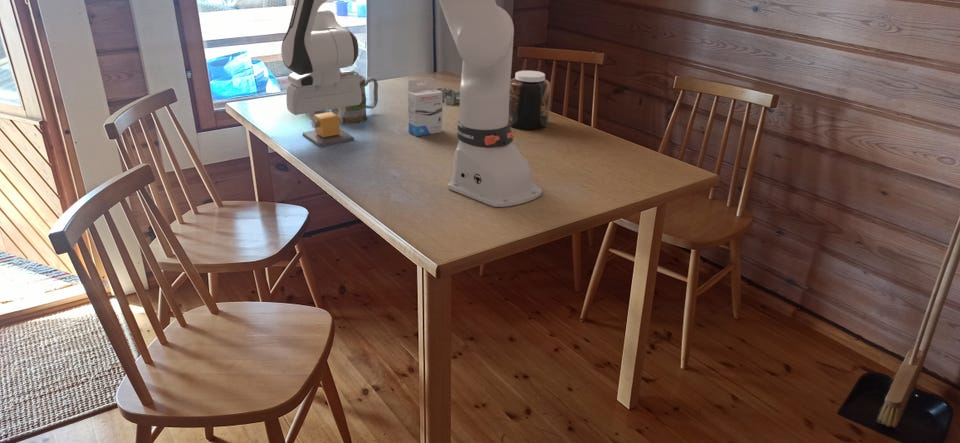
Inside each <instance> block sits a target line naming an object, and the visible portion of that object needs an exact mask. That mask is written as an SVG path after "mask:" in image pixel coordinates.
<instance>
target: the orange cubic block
mask: <svg viewBox="0 0 960 443" xmlns="http://www.w3.org/2000/svg"><path fill="white" fill-rule="evenodd" d="M314 114H315V113H314ZM313 118H314V119H315V120H317V121H319V127H317V128H314V131H315V132H316V133H317V134H319V135H320V136H322V137H328V136H333V135H338V134H340V129H341V125H340V124H341V123H340V124H339V116H337V115H336V114H334V113H332V111H328V112H322V113H316V114H315V115H314V116H313Z"/></svg>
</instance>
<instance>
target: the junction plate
mask: <svg viewBox="0 0 960 443" xmlns="http://www.w3.org/2000/svg"><path fill="white" fill-rule="evenodd" d="M302 136H303V137H304V138H306V139H307V140H309V141H311V142H312V143H313V144H315V145H316V146H318V147H319V148H320V147H325V146H331V145H335V144H340V143H342V144H343V143H345V142H351V141H355V137H354V136H353V135H351V134H349V133H347V132H346V131H344V130H342V129H341V128H340V134H338V135H333V136H328V137H322V136H320V135H319V134H317V133H316V132H315V130H309V131H304V132H302Z"/></svg>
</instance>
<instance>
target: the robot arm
mask: <svg viewBox="0 0 960 443" xmlns="http://www.w3.org/2000/svg"><path fill="white" fill-rule="evenodd" d="M327 1H328V0H295V1H294V4H293V5H294V6H293V9H292V13H291V18H290V21H289V25H288V28H287V31H286V33H285V35H284V37H283V40H282V43H281V59H282V62H283V64H284V66H285V67H286V68H287V69H288V70H289V71H291V72H292V73H289V74H288V75H287V81H288V83H289V85H288V86H287V88H286V109H287V111H288V112H289V113H290V114H293V115H294V116H298V115H304V114H306V116H307V118H309V120H310V121H311V123H310V124H311V127H312V128H313V129H315V128H317V127H319V121H317V120H315V119H314V115H315V113H317V112H323V111H329V110H331V109H335V108H338V110H339V112H338V115H337V116H339V124H341V123H342V117H343V115H344V113H345V111H346V109H345V107H347V106H354V105H359V104H360V103H361V101H362V95H361V89H360V85H359V84H360V76H361V75H360V74H359V72H357V71H355V70H353V69H352V70H348V71H347V70H346V71H345V70H344V71H341V69H343V68H344V69H345V68H349V67H352V66H353V65H354V64H355V63H356V61H357V58H358V57H359V43H358V42H359V41H358V39H357V37H356V36H355V34H354V33H353V32H351V31H350V30H349V29H347V28H344V27H343V26H342V25H340V24H339V23H338V21H337V20H336V17H335V14H334V12H333V11H331V10H319V8H320V7H321V6H322V5H323V4H325V3H326V2H327ZM438 2H439V4H440V8H441V10H442V12H443V15H444V19H445V21H446V24H447V26H448V28H449V32H450V33H451V36H452V40H453V41H454V44H455V46H456V49H457V53H458V55H459V57H460V58H461V60H462V65H461V75H460V84H459V91H460V103H459V120H458V122H457V127H456V133H457V135H456V136H457V139H458V143H457V146H456V149H455V150H454V154H453V162H452V172H451V174H452V175H451V180H449V182H448V184H447V189H448V190H451V191H454V192H455V193H459V194H460V195H463V196H466V197H468V198H471V199H473V200H476V201H479V202H481V203H484V204H486V205H488V206H491V207H494V208H499V207H500V208H504V207H511V206H516V205H521V204H524V203H527V202H530V201H533V200H535V199H537V198H538V197H541V195H542V194H543V191H542V188H540V187H539V186H538V185H537V184H535V183H534V182H532V169H531V167H530V163H529V160H528V159H527V158H525V157H523V155H522V154H521V152H520V151H519V149H518V147H517V146H516V145H515V143H514V138H515V137H516V135H515V134H516V133H517V132H516V131H512V127H510V123H509V122H508V117H509V94H510V80H511V79H512V76H511V75H512V65H513V62H512V61H513V51H514V49H513V48H514V35H515V28H514V27H515V26H514V23H513V19H512V17H511V15H510V14H509V13H508V12H507V10H505V9H504V8H502V7H501V6H500V5H497V1H496V0H438ZM359 75H360V76H359Z"/></svg>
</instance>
